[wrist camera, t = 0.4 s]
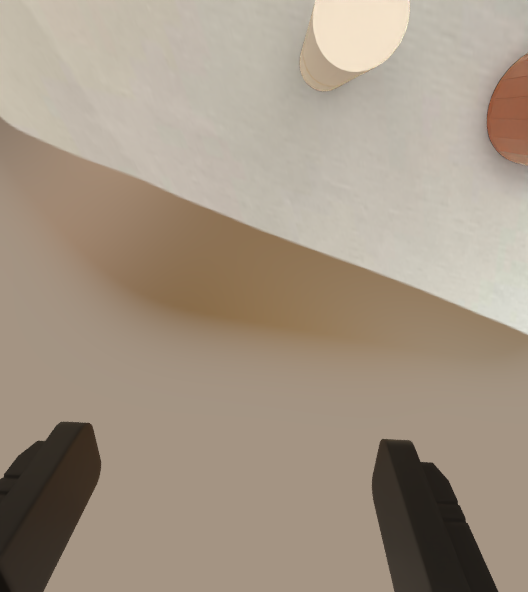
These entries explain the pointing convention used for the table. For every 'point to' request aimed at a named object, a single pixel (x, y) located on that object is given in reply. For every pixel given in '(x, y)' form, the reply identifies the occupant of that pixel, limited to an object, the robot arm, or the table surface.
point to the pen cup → (511, 114)
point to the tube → (350, 39)
